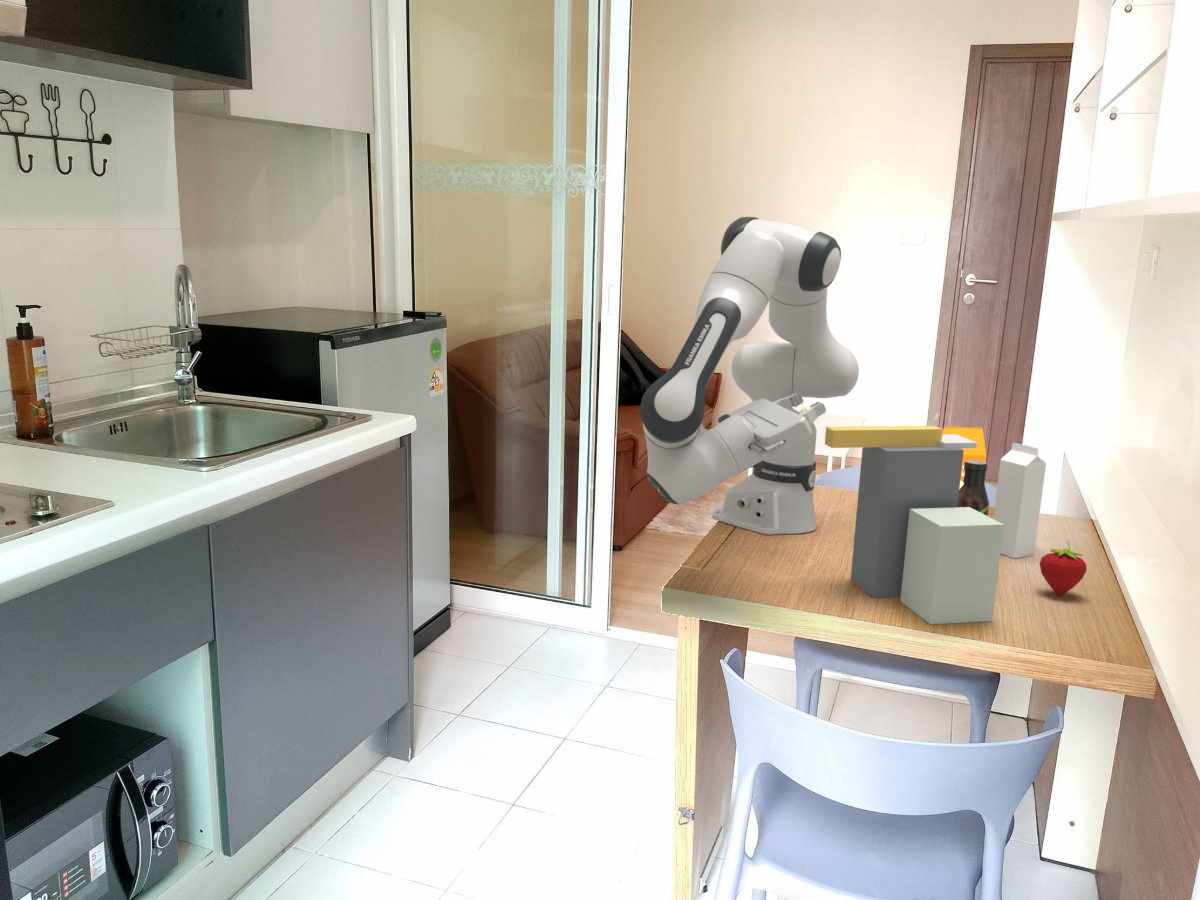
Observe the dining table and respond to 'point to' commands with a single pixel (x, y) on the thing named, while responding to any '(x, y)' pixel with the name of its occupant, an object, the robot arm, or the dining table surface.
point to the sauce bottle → (974, 487)
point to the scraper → (894, 437)
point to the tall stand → (897, 508)
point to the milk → (1019, 499)
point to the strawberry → (1062, 570)
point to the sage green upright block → (951, 564)
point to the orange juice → (972, 453)
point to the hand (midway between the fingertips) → (811, 401)
